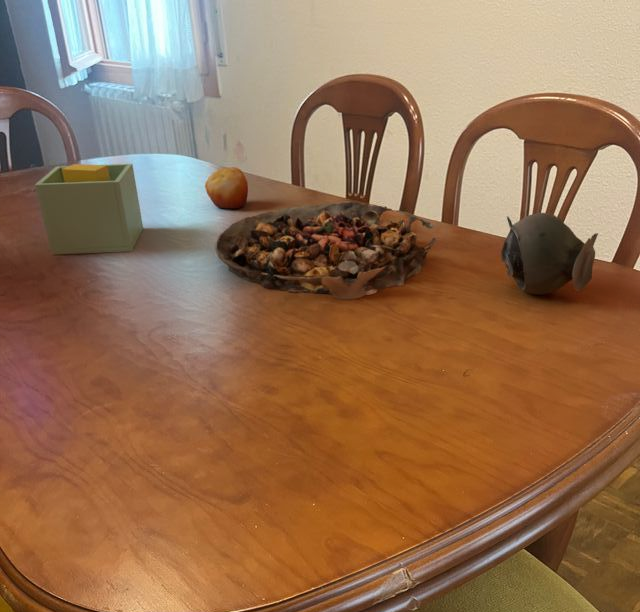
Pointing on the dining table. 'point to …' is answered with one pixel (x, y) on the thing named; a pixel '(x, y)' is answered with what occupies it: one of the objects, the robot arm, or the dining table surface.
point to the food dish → (324, 249)
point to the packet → (85, 173)
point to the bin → (91, 212)
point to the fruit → (227, 188)
